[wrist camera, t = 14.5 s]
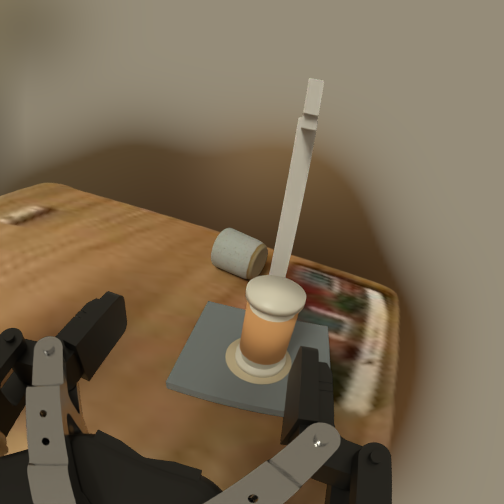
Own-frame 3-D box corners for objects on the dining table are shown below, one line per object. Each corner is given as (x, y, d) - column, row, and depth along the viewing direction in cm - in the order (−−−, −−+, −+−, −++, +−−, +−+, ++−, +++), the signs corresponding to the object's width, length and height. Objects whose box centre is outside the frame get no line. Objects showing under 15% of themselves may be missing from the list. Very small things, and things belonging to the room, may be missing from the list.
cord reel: (229, 371, 30) (241, 301, 25) (240, 337, 35) (252, 270, 31) (282, 382, 29) (306, 315, 25) (286, 347, 34) (306, 282, 30)
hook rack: (166, 387, 27) (175, 50, 14) (207, 307, 41) (233, 84, 28) (327, 422, 26) (455, 107, 12) (325, 332, 40) (387, 115, 26)
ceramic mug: (247, 289, 48) (254, 248, 45) (208, 272, 51) (212, 232, 47) (272, 266, 57) (280, 231, 53) (237, 253, 60) (242, 219, 56)
